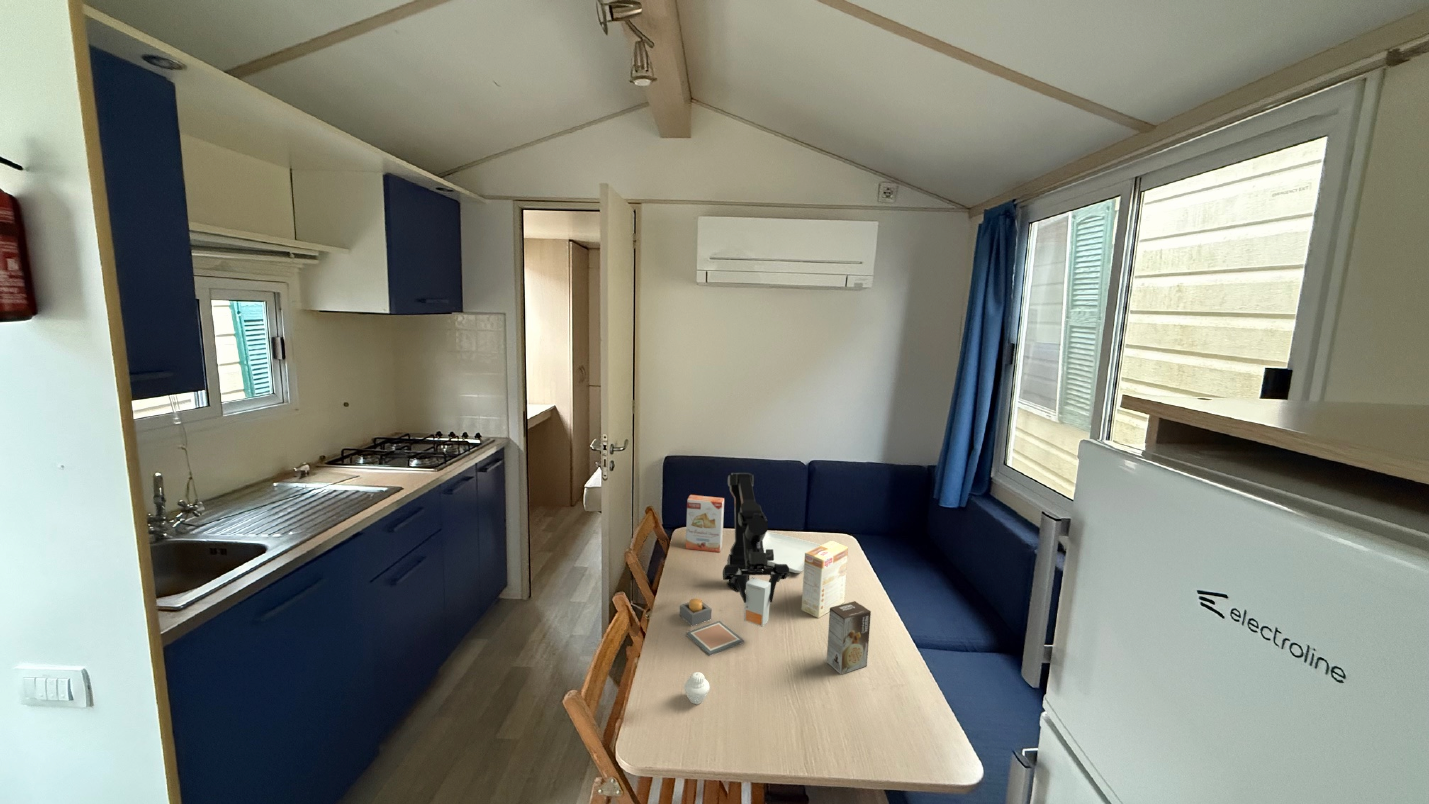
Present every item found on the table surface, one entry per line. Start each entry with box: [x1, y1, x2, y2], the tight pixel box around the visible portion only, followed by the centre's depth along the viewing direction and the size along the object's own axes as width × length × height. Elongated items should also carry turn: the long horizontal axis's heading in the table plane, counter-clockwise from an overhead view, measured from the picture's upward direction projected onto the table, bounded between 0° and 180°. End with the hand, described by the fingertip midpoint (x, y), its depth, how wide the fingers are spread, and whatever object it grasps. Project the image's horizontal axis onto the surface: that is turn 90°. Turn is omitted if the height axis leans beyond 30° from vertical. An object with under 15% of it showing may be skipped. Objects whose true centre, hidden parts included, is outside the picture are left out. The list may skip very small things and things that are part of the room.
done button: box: [688, 598, 703, 613], centre depth 171 cm, size 4×4×3 cm
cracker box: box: [685, 494, 725, 553], centre depth 220 cm, size 14×6×21 cm, turn 80°
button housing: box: [679, 601, 713, 627], centre depth 171 cm, size 7×7×4 cm
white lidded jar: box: [683, 671, 710, 705], centre depth 134 cm, size 6×6×7 cm
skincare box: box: [743, 576, 771, 628], centre depth 158 cm, size 6×4×12 cm
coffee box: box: [826, 600, 872, 675], centre depth 150 cm, size 9×6×16 cm
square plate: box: [763, 531, 822, 574], centre depth 217 cm, size 27×27×4 cm
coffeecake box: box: [801, 540, 849, 619], centre depth 179 cm, size 15×7×20 cm, turn 134°
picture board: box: [685, 620, 745, 656], centre depth 161 cm, size 12×12×1 cm
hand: (758, 602), depth 157 cm, fingers closed on skincare box, 7 cm apart
